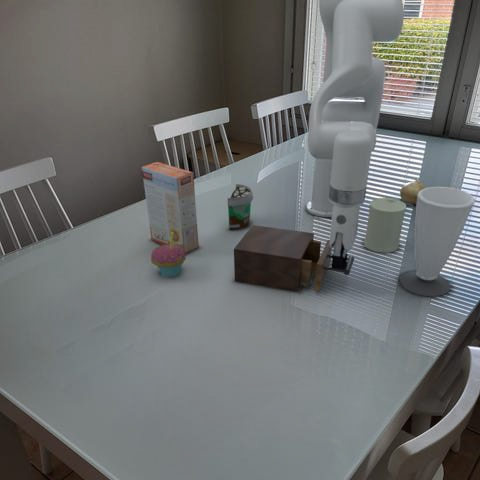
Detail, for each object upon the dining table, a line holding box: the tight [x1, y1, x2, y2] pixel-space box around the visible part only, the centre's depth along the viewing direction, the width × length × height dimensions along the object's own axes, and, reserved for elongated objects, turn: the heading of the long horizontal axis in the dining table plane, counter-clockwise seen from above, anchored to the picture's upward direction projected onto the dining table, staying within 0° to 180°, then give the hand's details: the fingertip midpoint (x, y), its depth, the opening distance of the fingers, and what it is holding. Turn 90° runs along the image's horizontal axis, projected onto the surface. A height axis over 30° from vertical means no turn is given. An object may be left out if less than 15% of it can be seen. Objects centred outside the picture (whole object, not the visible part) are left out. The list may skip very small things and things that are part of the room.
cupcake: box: [150, 229, 187, 278], centre depth 116 cm, size 9×8×12 cm
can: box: [363, 197, 407, 253], centre depth 126 cm, size 9×9×12 cm
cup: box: [399, 186, 476, 298], centre depth 107 cm, size 12×12×22 cm
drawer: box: [300, 239, 355, 292], centre depth 113 cm, size 20×13×7 cm, turn 70°
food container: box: [227, 183, 254, 231], centre depth 139 cm, size 12×6×10 cm, turn 168°
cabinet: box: [233, 224, 315, 293], centre depth 116 cm, size 16×14×9 cm
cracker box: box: [141, 161, 200, 254], centre depth 126 cm, size 14×6×21 cm, turn 47°
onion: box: [399, 178, 426, 205], centre depth 151 cm, size 8×8×7 cm
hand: (338, 269), depth 112 cm, fingers closed
